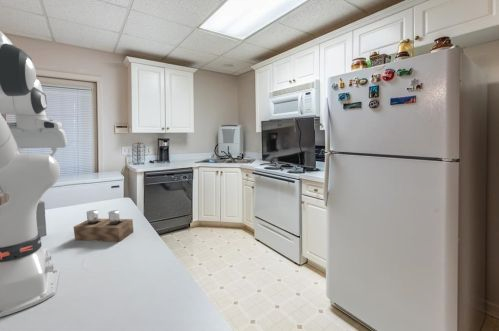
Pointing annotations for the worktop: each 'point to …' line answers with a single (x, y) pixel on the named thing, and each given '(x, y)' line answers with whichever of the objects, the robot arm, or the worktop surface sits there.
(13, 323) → the worktop surface
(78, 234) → the walnut block
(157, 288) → the worktop surface
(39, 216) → the skincare box
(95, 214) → the steel peg
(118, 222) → the steel peg
